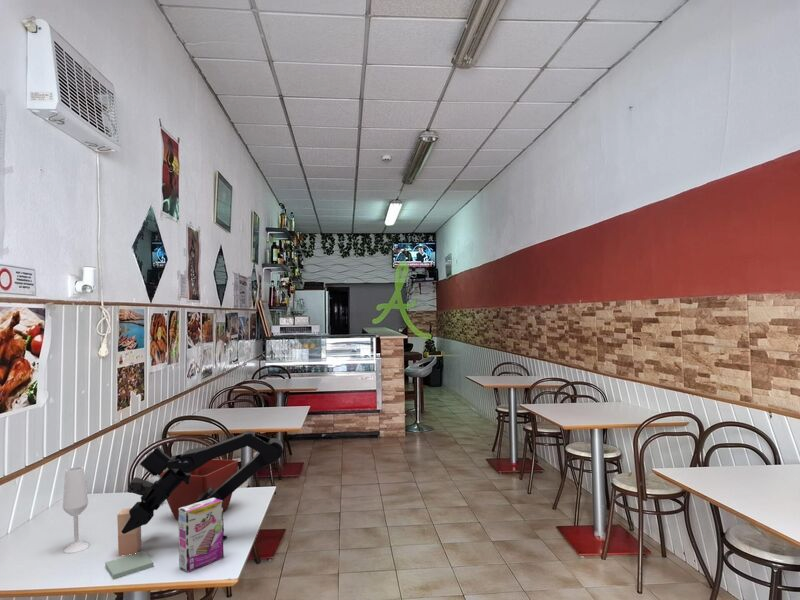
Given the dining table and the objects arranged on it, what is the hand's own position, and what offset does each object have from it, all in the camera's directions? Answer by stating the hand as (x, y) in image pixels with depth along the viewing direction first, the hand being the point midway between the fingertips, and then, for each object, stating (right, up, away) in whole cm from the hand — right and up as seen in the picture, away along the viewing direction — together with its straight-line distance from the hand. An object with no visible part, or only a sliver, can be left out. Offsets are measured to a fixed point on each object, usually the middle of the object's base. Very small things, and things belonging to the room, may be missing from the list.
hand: (127, 526), depth 159 cm
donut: (-11, -9, +42) cm, 44 cm away
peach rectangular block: (+1, -7, 0) cm, 7 cm away
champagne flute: (-18, -8, +4) cm, 20 cm away
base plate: (+6, -7, -10) cm, 14 cm away
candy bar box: (+26, -6, -10) cm, 29 cm away
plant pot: (+12, -8, +28) cm, 31 cm away
